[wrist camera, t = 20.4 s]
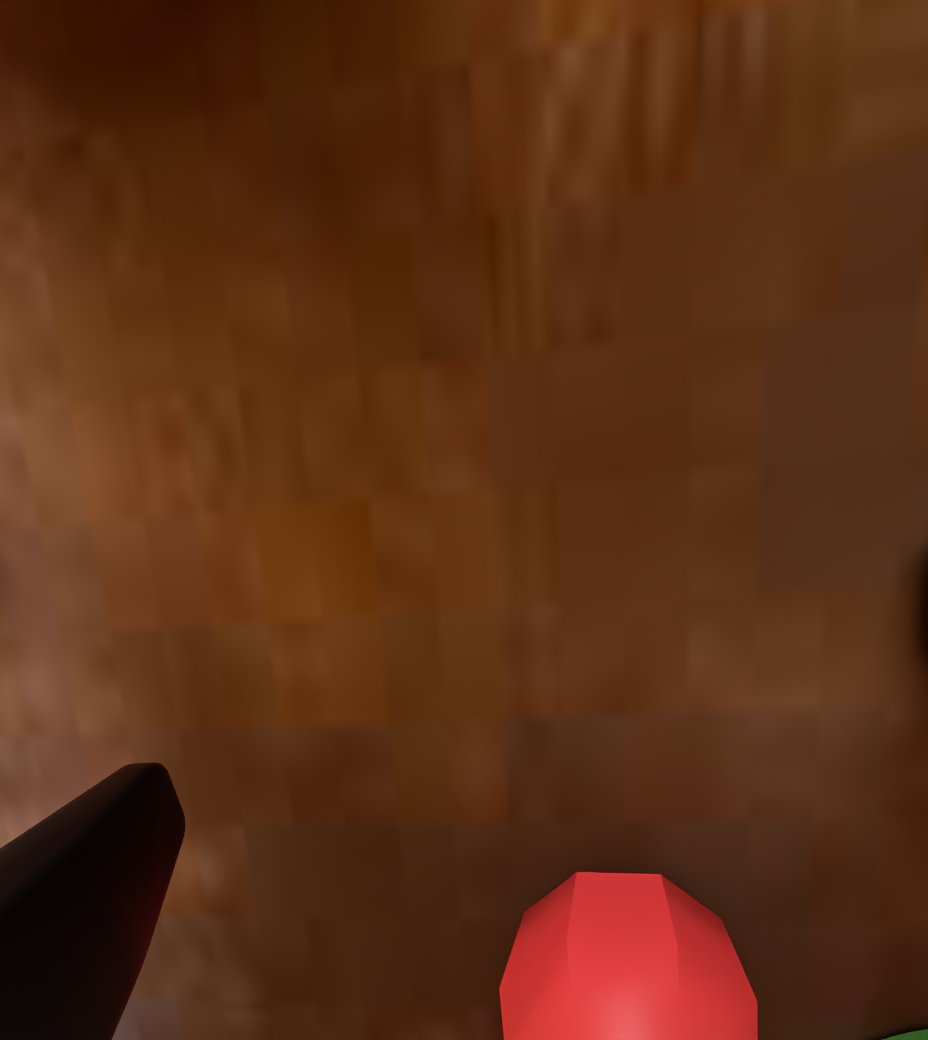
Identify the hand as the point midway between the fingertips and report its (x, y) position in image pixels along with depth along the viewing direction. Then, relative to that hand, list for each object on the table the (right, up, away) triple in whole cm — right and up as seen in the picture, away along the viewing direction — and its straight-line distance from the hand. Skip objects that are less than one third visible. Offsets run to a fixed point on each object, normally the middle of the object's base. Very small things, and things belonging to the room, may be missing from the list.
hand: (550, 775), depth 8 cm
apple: (+4, -11, +18) cm, 22 cm away
